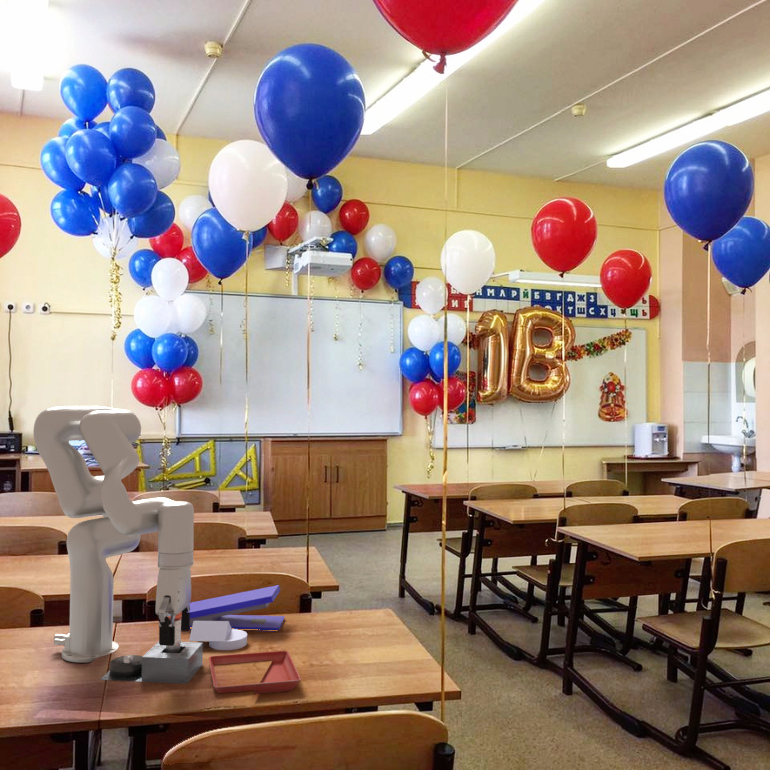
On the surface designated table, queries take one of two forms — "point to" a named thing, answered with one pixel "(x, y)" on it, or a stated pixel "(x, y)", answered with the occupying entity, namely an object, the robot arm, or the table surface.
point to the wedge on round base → (218, 635)
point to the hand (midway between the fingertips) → (174, 637)
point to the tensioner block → (158, 665)
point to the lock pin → (176, 635)
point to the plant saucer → (275, 679)
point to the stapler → (238, 609)
